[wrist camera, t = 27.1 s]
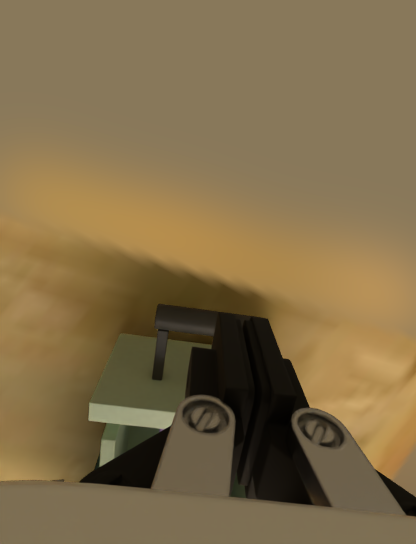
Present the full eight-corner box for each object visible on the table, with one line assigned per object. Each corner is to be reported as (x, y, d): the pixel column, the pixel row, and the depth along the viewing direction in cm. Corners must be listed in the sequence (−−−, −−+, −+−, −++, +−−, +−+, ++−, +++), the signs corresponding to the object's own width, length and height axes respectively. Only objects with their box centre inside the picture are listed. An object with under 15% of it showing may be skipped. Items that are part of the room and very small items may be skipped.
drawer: (125, 271, 23) (93, 321, 16) (290, 294, 24) (327, 351, 17) (107, 474, 29) (78, 575, 22) (241, 487, 30) (253, 588, 23)
